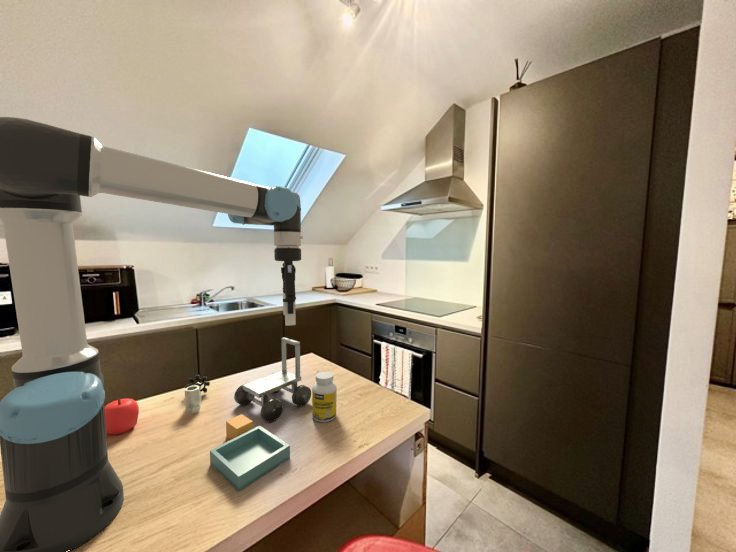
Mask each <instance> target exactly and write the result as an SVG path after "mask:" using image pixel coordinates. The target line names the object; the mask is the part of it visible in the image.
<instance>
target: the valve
mask: <svg viewBox="0 0 736 552" xmlns="http://www.w3.org/2000/svg"><path fill="white" fill-rule="evenodd" d="M194 377H195V378H192V377H189V378H188V380H187V382H188V384H186V385H185V389H184V398H183V403H184V404H183V405H184V406H185V414H188V415H193V414H195V413H198V412H200V411H201V410H200V409H201V401H202V394H201V392H203V393H204V394H205V393H207V392H208V388H207V387H210V385H211V382H210V381H207V379H208V376H206V375H204V376H203V377H201V375H200V374H196V375H195V376H194ZM197 381H198V382H197ZM199 381H200V382H199ZM194 382H196V383H195V384H193V383H194ZM202 386H203V387H202Z"/></svg>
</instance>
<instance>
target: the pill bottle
mask: <svg viewBox="0 0 736 552" xmlns="http://www.w3.org/2000/svg"><path fill="white" fill-rule="evenodd" d="M311 387H312V388H311V399H312V400H311V402H312V403H311V405H312V407H311V410H312V411H311V412H312V413H311V415H312V418H313V419H314V421H316V422H319V423H326V422H327V423H328V422H330V421H332V420H334V419H335V418H336V416H337V384H336V383H335V382H334V373H333V372H331V371H321V372H318V373H316V375H315V383H314V384H313V385H312V386H311Z"/></svg>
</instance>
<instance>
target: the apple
mask: <svg viewBox="0 0 736 552" xmlns="http://www.w3.org/2000/svg"><path fill="white" fill-rule="evenodd" d="M139 408H140V406H139V403H138V401H136V400H134V398H127V397H126V398H117V399H116V400H113V401H112V402H109V403H107V404H106V405H104V409H105V423H106V434H110V435H114V436H117V435H120V434H123V433H125V432H127V431H129V430H131V429H133V427H135V426H136V425H137V423H138V420H139V419H138V417H139V410H140V409H139Z"/></svg>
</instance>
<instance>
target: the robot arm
mask: <svg viewBox="0 0 736 552" xmlns="http://www.w3.org/2000/svg"><path fill="white" fill-rule="evenodd" d="M98 194H106V195H114V196H119V197H125V198H131V199H136V200H137V199H138V200H142V201H149V202H153V203H160V204H165V205H166V204H167V205H171V206H179V207H185V208H190V209H196V210H202V211H207V212H208V211H209V212H214V213H215V212H216V213H220V214H227V217H228V219H229V221H230V222H231V223H233V224H239V225H243V226H244V225H253V226H254V225H256V226H257V225H258V226H259V225H260V226H273V246H275V248H274V251H273V254H274V257H273V258H274V261H276V262H282V266H280V272H281V279H282V293H283V294H282V305H283V307H282V313H283V316H284V320H285V323H284V324H285V326H296V325H297V324H296V323H297V322H296V319H297V317H296V313H297V312H296V300H297V297H296V296H297V295H296V272H297V270H296V268H297V267H295V265H294V264H293V262H299V261H301V260H302V249H301V248H300V246H302V241H301V240H303V239H304V236H303V235H301V234H302V230H301V228H302V226H301V225H302V222H301V221H302V219H301V218H302V217H301V215H302V213H301V212H302V206H301V198H300V196H301V195H299V194H298V193H297V192H294V191H292V190H291V189H289V188H288V187H285V186H280V185H279V186H277V185H276V186H271V187H269V186H264V185H261V184H255V183H252V182H248V181H245V180H239V179H236V178H233V177H227V176H224V175H220V174H216V173H212V172H209V171H205V170H204V171H203V170H199V169H196V168H192V167H188V166H185V165H184V166H183V165H181V164H177V163H172V162H168V161H163V160H160V159H157V158H153V157H149V156H144V155H141V154H136V153H131V152H127V151H124V150H120V149H117V148H113V147H108V146H104V145H103V144H101V143H100V142H99V140H98V139H97V138H96V137H95V136H91V135H88V134H84V133H79V132H76V131H72V130H69V129H66V128H61V127H58V126H54V125H51V124H48V123H42V122H39V121H35V120H31V119H28V118H21V117H14V116H13V117H12V116H11V117H10V116H0V221H1V222H2V224H3V232H4V238H5V245H6V252H7V259H8V264H9V265H8V266H9V271H10V279H11V285H12V292H13V299H14V300H13V301H14V305H15V312H16V319H17V320H16V321H17V325H18V326H17V327H18V331H19V339H20V340H19V341H20V345H21V351H22V356H21V357H20V358H19V359H17V361H16V362H15V363H14V364H12V366H11V374H12V382H13V383H12V384H13V387H14V389H12V390H11V391H9V392H8V393H7V394H6V395H5V396H4V397H3V398H2V399H1V400H0V455H1V456H0V457H1V467H2V475H3V485H4V494H5V500H4V504H3V507H2V509H1V512H0V552H66V551H68V550H71V549H73V550H75V549H77V548H78V546H79V547H80V546H82V545H84V544H85V543H87V542H88V541H90V540H91V539H92V538H94V537H95V536H96V535H98V534H99V533H100V532H101V531H103V530H104V529H105V528H106V527H107V526H108V525H109V524H110V523H111V522H112V521H113V520H114V518H116V516H117V515H118V513H119V512H120V511H121V508H122V506H123V504H124V500H125V499H124V498H125V495H124V485H123V483H122V480H121V479H120V477H119V476H118V474H117V472H116V471H115V468H114V467H113V466H112V464H111V462H110V461H109V454H108V442H107V441H108V439H107V433H106V423H105V409H104V407H105V400H106V392H105V387H104V385H105V384H104V383H105V382H104V375H103V373H102V371H101V370H102V368H101V360H100V355H99V352H100V351H99V349H98V348H96V347H95V346H92V345H90V344H89V343H88V341H87V340H88V339H87V330H86V323H85V314H84V306H83V298H82V290H81V289H82V288H81V281H80V273H79V265H78V258H77V250H76V249H77V248H76V242H75V233H74V222H75V221H77V220H78V219H79V218H80V217H81V216H82V215H83V211H82V202H81V197H88V198H92V197H95V196H97V195H98ZM76 547H77V548H76ZM74 548H75V549H74Z"/></svg>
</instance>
